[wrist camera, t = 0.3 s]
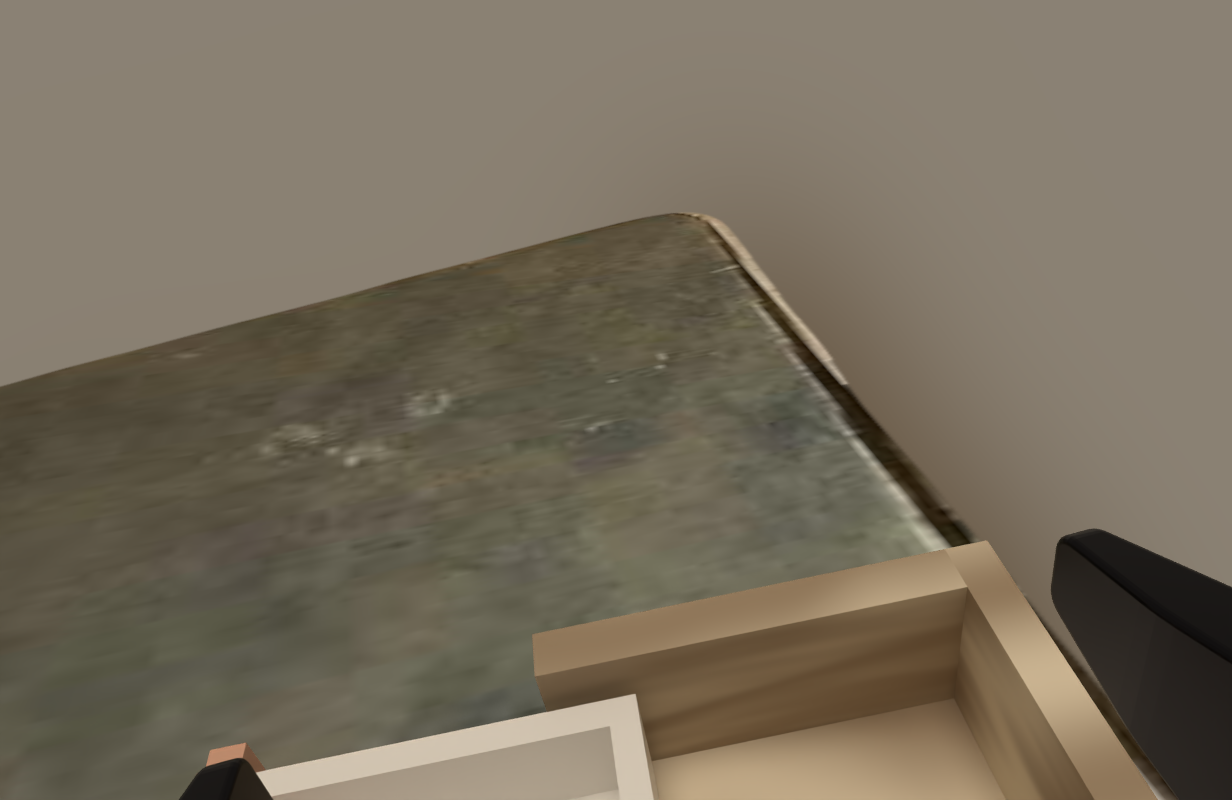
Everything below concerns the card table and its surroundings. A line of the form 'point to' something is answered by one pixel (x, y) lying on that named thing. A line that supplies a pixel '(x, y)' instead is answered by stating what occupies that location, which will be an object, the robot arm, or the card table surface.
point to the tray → (485, 762)
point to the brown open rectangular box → (851, 690)
